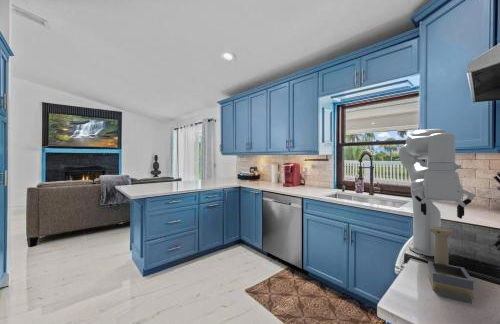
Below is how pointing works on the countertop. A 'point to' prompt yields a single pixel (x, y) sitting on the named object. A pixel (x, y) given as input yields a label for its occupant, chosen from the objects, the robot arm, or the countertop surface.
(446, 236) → the handle
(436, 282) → the open grey tray
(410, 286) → the countertop surface
